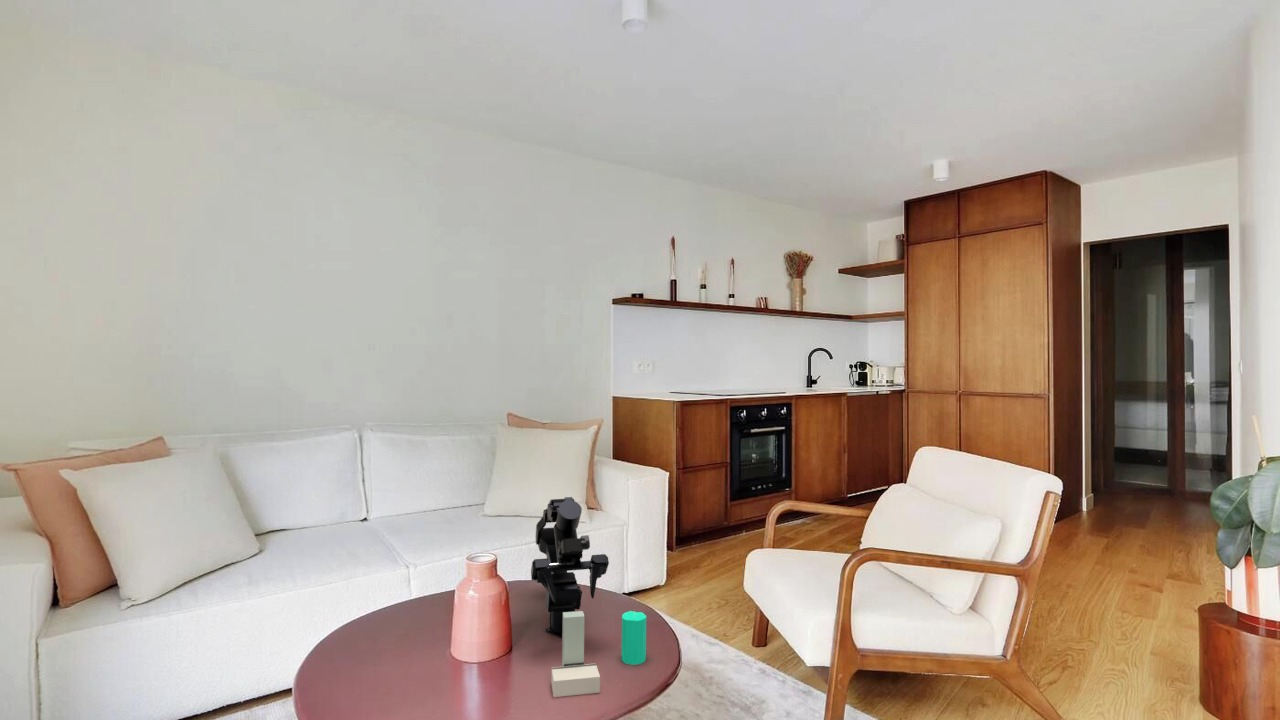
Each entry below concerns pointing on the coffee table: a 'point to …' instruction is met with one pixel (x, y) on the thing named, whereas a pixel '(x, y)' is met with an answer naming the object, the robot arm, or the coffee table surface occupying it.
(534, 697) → the coffee table surface
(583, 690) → the block
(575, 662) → the pale green upright box
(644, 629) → the candle
